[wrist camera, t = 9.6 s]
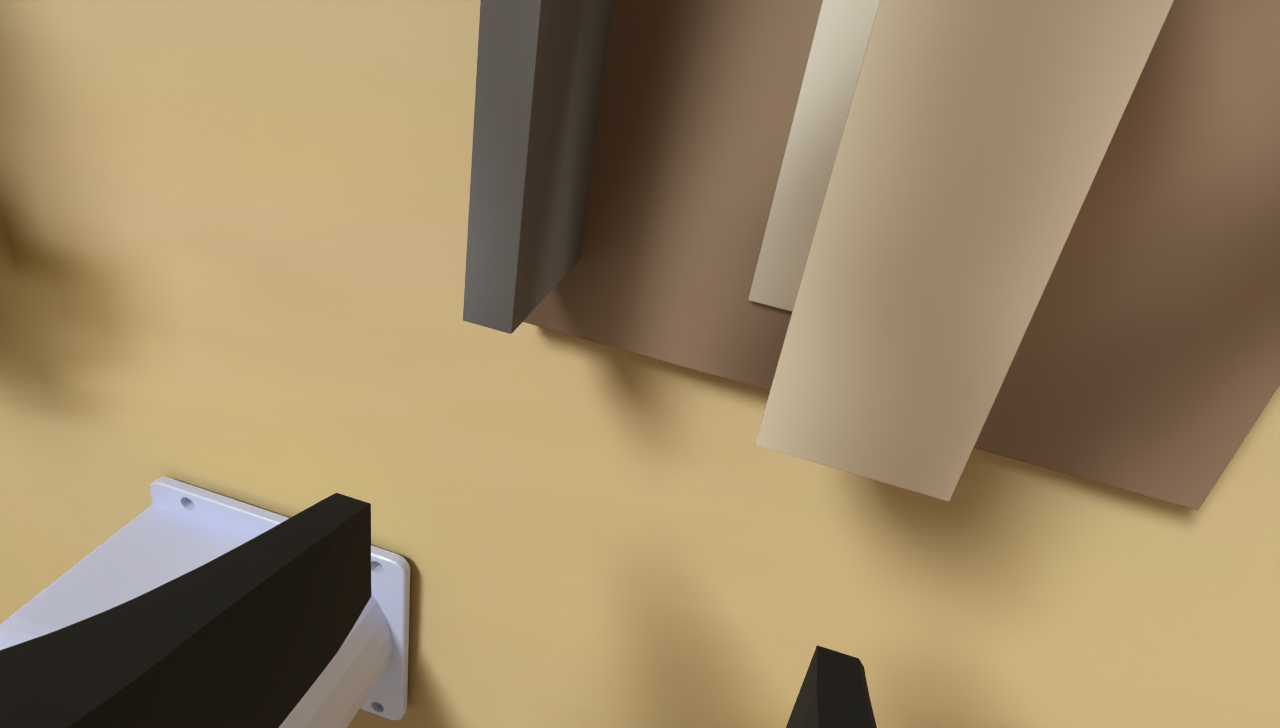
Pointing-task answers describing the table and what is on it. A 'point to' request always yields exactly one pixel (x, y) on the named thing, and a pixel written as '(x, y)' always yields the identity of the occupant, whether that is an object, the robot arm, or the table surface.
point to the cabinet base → (794, 193)
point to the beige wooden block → (946, 224)
